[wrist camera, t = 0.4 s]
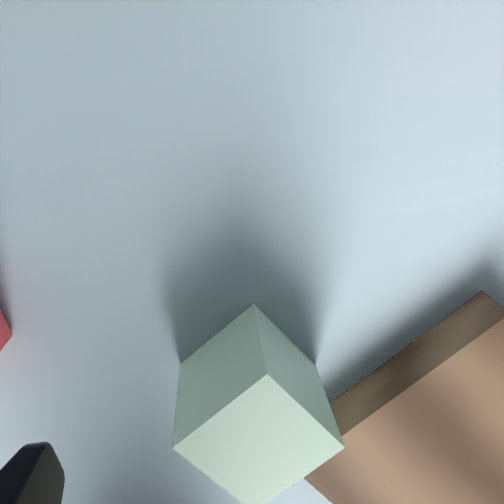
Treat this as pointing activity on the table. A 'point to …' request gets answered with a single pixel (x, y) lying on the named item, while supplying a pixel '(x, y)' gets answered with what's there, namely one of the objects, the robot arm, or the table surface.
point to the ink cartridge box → (4, 331)
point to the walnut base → (426, 419)
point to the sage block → (253, 411)
